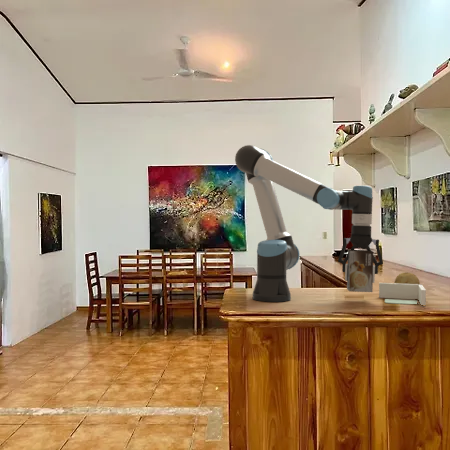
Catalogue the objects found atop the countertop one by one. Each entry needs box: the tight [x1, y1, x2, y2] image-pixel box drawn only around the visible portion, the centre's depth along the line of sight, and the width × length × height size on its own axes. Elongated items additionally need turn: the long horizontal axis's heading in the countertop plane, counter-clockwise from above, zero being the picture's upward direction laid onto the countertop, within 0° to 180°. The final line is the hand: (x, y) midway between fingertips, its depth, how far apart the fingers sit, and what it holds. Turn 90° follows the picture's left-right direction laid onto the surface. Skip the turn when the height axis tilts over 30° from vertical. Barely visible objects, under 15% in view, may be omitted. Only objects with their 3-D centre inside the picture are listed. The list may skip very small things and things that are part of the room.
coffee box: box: [346, 249, 374, 293], centre depth 191 cm, size 9×6×16 cm
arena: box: [378, 282, 427, 306], centre depth 190 cm, size 16×18×6 cm
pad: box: [384, 298, 418, 305], centre depth 188 cm, size 12×9×1 cm
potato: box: [394, 272, 421, 285], centre depth 206 cm, size 10×12×10 cm
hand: (359, 281), depth 191 cm, fingers closed on coffee box, 10 cm apart
